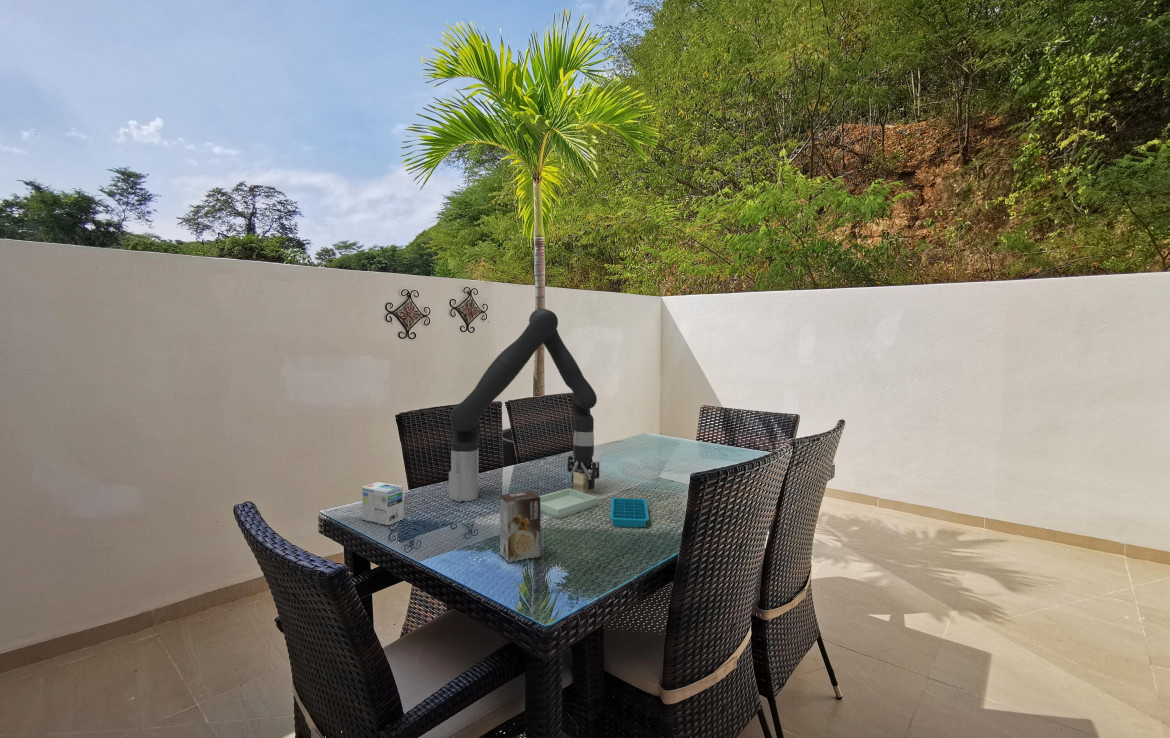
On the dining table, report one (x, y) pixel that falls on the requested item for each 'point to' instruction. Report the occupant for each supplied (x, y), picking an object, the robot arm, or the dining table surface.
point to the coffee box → (520, 526)
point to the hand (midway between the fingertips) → (582, 486)
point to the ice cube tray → (629, 512)
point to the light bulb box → (383, 503)
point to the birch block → (580, 482)
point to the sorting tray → (566, 503)
